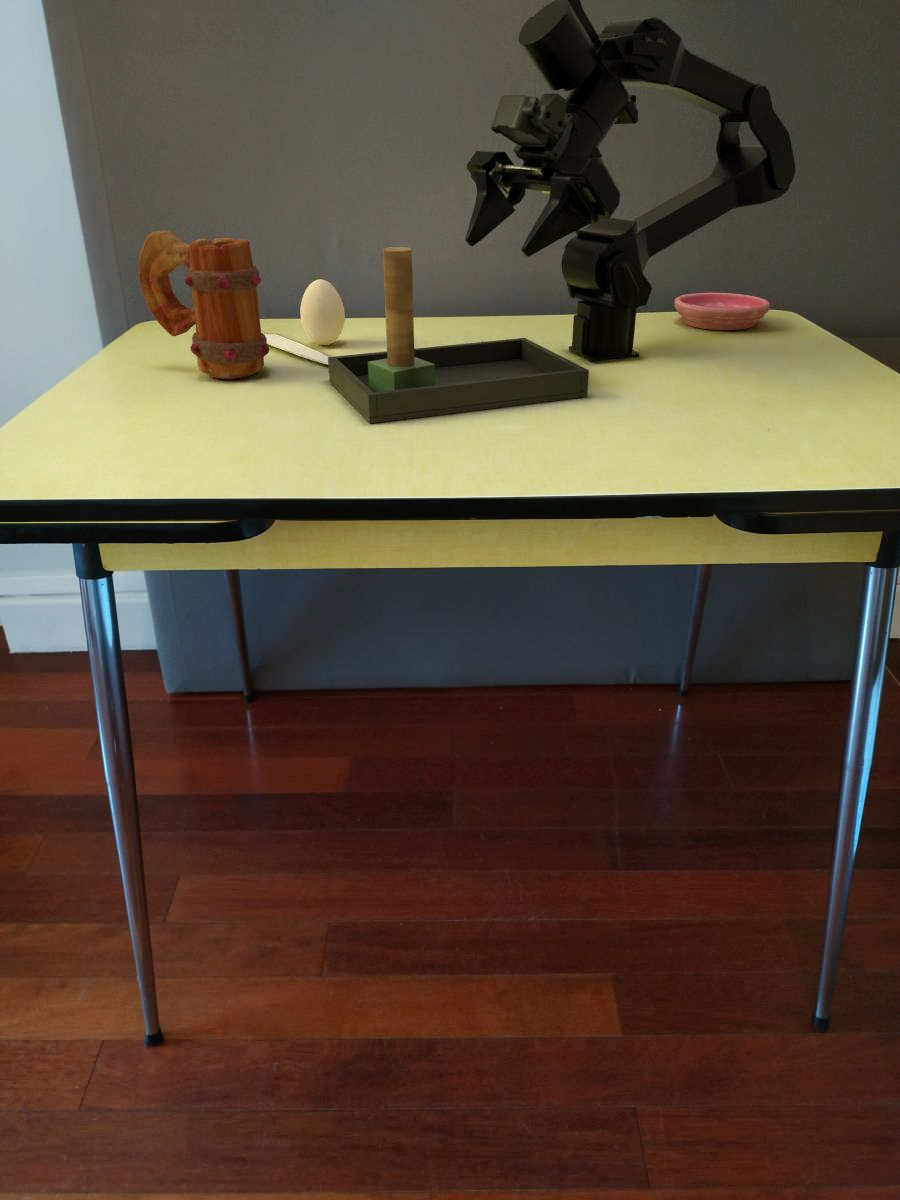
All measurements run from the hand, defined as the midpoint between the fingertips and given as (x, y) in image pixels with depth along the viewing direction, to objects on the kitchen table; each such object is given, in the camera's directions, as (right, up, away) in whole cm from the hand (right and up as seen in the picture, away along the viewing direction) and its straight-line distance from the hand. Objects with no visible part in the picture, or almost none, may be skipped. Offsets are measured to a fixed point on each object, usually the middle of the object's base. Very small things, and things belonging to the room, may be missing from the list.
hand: (495, 248), depth 95 cm
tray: (-4, -14, +3) cm, 15 cm away
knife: (-27, -4, +22) cm, 35 cm away
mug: (-32, -11, +10) cm, 35 cm away
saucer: (+32, +1, +30) cm, 44 cm away
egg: (-21, -4, +21) cm, 30 cm away
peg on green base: (-10, -15, 0) cm, 18 cm away
